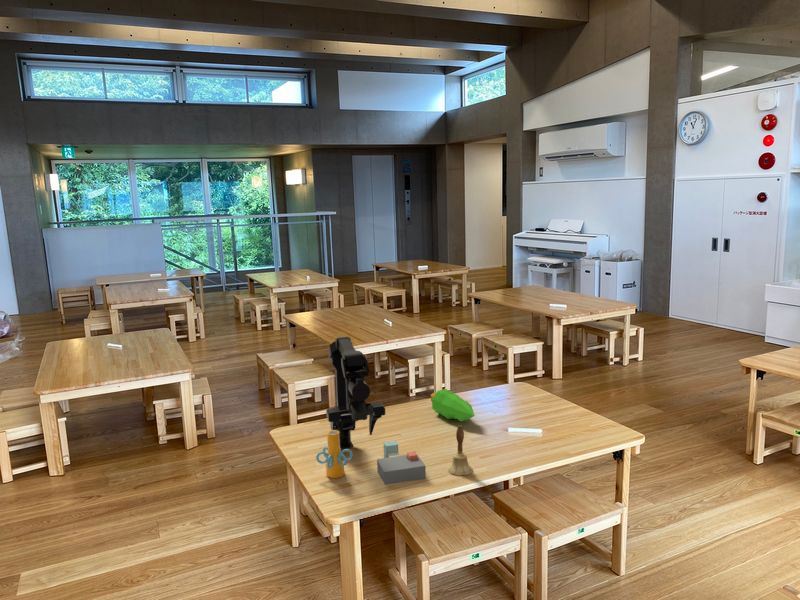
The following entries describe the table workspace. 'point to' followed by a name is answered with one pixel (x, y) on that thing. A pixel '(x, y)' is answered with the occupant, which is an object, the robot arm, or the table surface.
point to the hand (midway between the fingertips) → (356, 436)
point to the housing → (400, 469)
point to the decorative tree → (451, 405)
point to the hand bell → (460, 457)
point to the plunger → (411, 456)
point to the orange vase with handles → (334, 455)
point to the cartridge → (390, 449)
